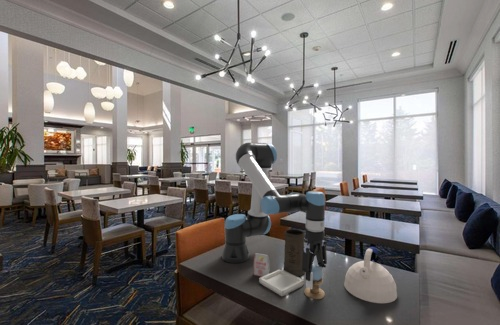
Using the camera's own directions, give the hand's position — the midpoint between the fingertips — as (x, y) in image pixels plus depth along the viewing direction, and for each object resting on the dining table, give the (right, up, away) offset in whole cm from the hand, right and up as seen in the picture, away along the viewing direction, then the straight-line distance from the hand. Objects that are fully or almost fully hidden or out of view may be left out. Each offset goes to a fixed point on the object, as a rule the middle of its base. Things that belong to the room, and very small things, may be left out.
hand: (314, 284), depth 101 cm
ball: (0, +2, 0) cm, 2 cm away
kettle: (+24, -4, +3) cm, 25 cm away
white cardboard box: (-21, -4, +16) cm, 27 cm away
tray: (-13, -4, +8) cm, 15 cm away
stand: (0, -4, 0) cm, 4 cm away
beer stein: (-4, -3, +22) cm, 23 cm away
